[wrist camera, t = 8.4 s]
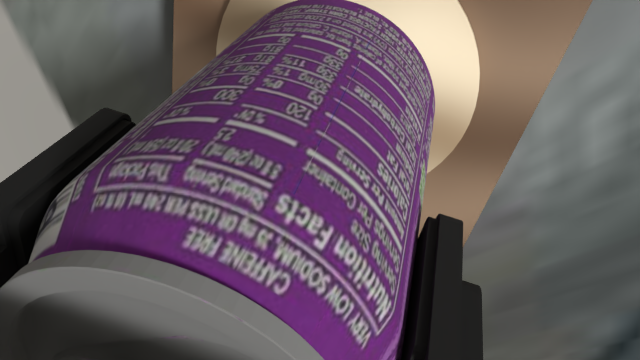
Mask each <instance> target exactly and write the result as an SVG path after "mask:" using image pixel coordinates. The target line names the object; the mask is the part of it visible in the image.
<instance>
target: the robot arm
mask: <svg viewBox="0 0 640 360" xmlns="http://www.w3.org/2000/svg"><path fill="white" fill-rule="evenodd" d="M135 126H136V124H135V123H133V122H131V118H130V116H129V115H127V114H125V113H121V112H118V111H115V110H112V109H109V108H103V109H101V110H100V111H98V112H97V113H96V114H94V115H93V116H91V117H90V118H89V119H87V120H86V121H85V122H83V123H82V124H80V125H79V126H78V127H76V128H75V129H74V130H72V131H71V132H69V133H68V134H67V135H65V136H64V137H63V138H61V139H60V140H59V141H57V142H56V143H54V144H53V145H52V146H50V147H49V148H48V149H46V150H45V151H43V152H42V153H41V154H39V155H38V156H37V157H35V158H34V159H33V160H31V161H30V162H28V163H27V164H26V165H24V166H23V167H22V168H20V169H19V170H17V171H16V172H15V173H13V174H12V175H11V176H9V177H8V178H6V179H5V180H4V181H2V182H1V183H0V288H1V287H2V286H3V285H4V284H5V283H6V282H7V281H8V280H9V279H10V278H11V277H13V276H14V275H15V274H16V273H17V272H18V271H19V270H20V269H21V268H23V267H24V266H26V265H27V264H28V263H29V260H30V257H31V253H32V250H33V247H34V244H35V241H36V238H37V235H38V232H39V228H40V225H41V223H42V220H43V218H44V215H45V214H46V212H47V210H48V208H49V206H50V205H51V203H52V202H53V200H54V199H55V198H56V197H57V195H58V194H59V193H60V192H61V191H62V190H63V189H64V188H65V187H66V186H67V185H68V184H69V183H70V182H71V181H72V180H73V179H74V178H75V177H76V176H78V175H79V174H80V173H81V172H82V171H83V170H85V169H86V168H87V167H88V166H89V165H90V164H92V163H93V162H94V161H95V160H96V159H97V158H98V157H100V156H101V155H102V154H103V153H104V152H105V151H107V150H108V149H109V148H110V147H111V146H112V145H114V144H115V143H116V142H117V141H118V140H119V139H121V138H122V137H123V136H124V135H125V134H126V133H128V132H129V131H130V130H131V129H132V128H133V127H135ZM462 258H463V221H462V220H459V219H456V218H453V217H450V216H446V215H443V214H440V213H439V214H438V215H437V217H436V219H435V218H432V217H428V218H427V219H426V221H425V223H424V226H423V228H422V230H421V233H420V235H419V237H418V241H417V248H416V256H415V263H414V270H413V278H412V285H411V293H410V300H409V307H408V315H407V322H406V330H405V337H404V344H403V352H402V357H401V360H483V335H482V293H481V288H480V286H478V285H475V284H472V283H469V282H466V281H463V280H462Z"/></svg>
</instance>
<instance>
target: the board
mask: <svg viewBox="0 0 640 360" xmlns="http://www.w3.org/2000/svg"><path fill="white" fill-rule="evenodd" d="M293 1H297V0H174V22H173V70H172V94H173V93H174V92H175V91H176V90H178V89H179V88H180V87H181V86H182V85H183V84H185V83H186V82H187V81H188V80H189V79H190V78H192V77H193V76H194V75H195V74H196V73H197V72H199V71H200V70H201V69H202V68H203V67H204V66H206V65H207V64H208V63H209V62H210V61H211V60H213V59H214V58H215V57H216V56H217V55H218V54H220V53H221V52H222V51H223V50H224V49H225V48H226V47H228V46H229V45H230V44H231V43H232V42H233V41H235V40H236V39H237V38H238V37H239V36H240V35H242V34H243V33H244V32H245V31H246V30H247V29H249V28H250V27H251V26H252V25H253V24H254V23H256V22H257V21H258V20H259V19H260V18H262V17H263V16H264V15H266V14H267V13H269V12H270V11H272V10H274V9H276V8H277V7H279V6H282V5H284V4H287V3H290V2H293ZM347 1H351V2H354V3H358V4H360V5H363V6H366V7H368V8H370V9H372V10H374V11H376V12H378V13H380V14H381V15H383V16H384V17H386V18H387V19H389V20H390V21H392V22H393V23H394V24H395V25H396V26H398V27H399V28H400V29H401V30H402V31H403V32H404V33H405V34H406V35H407V36H408V37H409V38H410V40H411V41H412V42H413V43H414V45H415V46H416V47H417V49H418V51H419V52H420V54H421V55H422V57H423V59H424V61H425V63H426V65H427V68H428V70H429V73H430V76H431V79H432V83H433V87H434V94H435V115H434V123H433V130H432V137H431V145H430V152H429V160H428V167H427V174H426V182H425V189H424V197H423V204H422V211H421V219H420V226H419V234H418V237H419V235H420V233H421V230H422V228H423V226H424V223H425V221H426V219H427V218H428V217H432V218H435V219H436V217H437V215H438V214H439V213H440V214H443V215H446V216H450V217H453V218H456V219H459V220H462V221H463V246H464V244H465V242H466V241H467V239H468V237H469V235H470V233H471V231H472V229H473V227H474V225H475V223H476V221H477V220H478V218H479V216H480V214H481V212H482V210H483V208H484V206H485V204H486V202H487V201H488V199H489V197H490V195H491V193H492V191H493V189H494V187H495V185H496V183H497V181H498V180H499V178H500V176H501V174H502V172H503V170H504V168H505V166H506V164H507V162H508V161H509V159H510V157H511V155H512V153H513V151H514V149H515V147H516V145H517V143H518V141H519V140H520V138H521V136H522V134H523V132H524V130H525V128H526V126H527V124H528V122H529V120H530V119H531V117H532V115H533V113H534V111H535V109H536V107H537V105H538V103H539V101H540V100H541V98H542V96H543V94H544V92H545V90H546V88H547V86H548V84H549V82H550V80H551V79H552V77H553V75H554V73H555V71H556V69H557V67H558V65H559V63H560V61H561V60H562V58H563V56H564V54H565V52H566V50H567V48H568V46H569V44H570V42H571V40H572V39H573V37H574V35H575V33H576V31H577V29H578V27H579V25H580V23H581V21H582V20H583V18H584V16H585V14H586V12H587V10H588V8H589V6H590V4H591V2H592V0H347Z"/></svg>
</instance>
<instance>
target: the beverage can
mask: <svg viewBox="0 0 640 360" xmlns="http://www.w3.org/2000/svg"><path fill="white" fill-rule="evenodd" d="M434 115H435V94H434V87H433V83H432V79H431V76H430V73H429V70H428V68H427V65H426V63H425V61H424V59H423V57H422V55H421V54H420V52H419V51H418V49H417V47H416V46H415V45H414V43H413V42H412V41H411V40H410V38H409V37H408V36H407V35H406V34H405V33H404V32H403V31H402V30H401V29H400V28H399V27H398V26H396V25H395V24H394V23H393V22H392V21H390V20H389V19H387V18H386V17H384V16H383V15H381V14H380V13H378V12H376V11H374V10H372V9H370V8H368V7H366V6H363V5H360V4H358V3H354V2H351V1H347V0H297V1H293V2H290V3H287V4H284V5H282V6H279V7H277V8H276V9H274V10H272V11H270V12H269V13H267V14H266V15H264V16H263V17H262V18H260V19H259V20H258V21H257V22H256V23H254V24H253V25H252V26H251V27H250V28H249V29H247V30H246V31H245V32H244V33H243V34H242V35H240V36H239V37H238V38H237V39H236V40H235V41H233V42H232V43H231V44H230V45H229V46H228V47H226V48H225V49H224V50H223V51H222V52H221V53H220V54H218V55H217V56H216V57H215V58H214V59H213V60H211V61H210V62H209V63H208V64H207V65H206V66H204V67H203V68H202V69H201V70H200V71H199V72H197V73H196V74H195V75H194V76H193V77H192V78H190V79H189V80H188V81H187V82H186V83H185V84H183V85H182V86H181V87H180V88H179V89H178V90H176V91H175V92H174V93H173V94H172V95H171V96H169V97H168V98H167V99H166V100H165V101H164V102H162V103H161V104H160V105H159V106H158V107H157V108H156V109H154V110H153V111H152V112H151V113H150V114H149V115H147V116H146V117H145V118H144V119H143V120H142V121H140V122H139V123H138V124H137V125H136V126H135V127H133V128H132V129H131V130H130V131H129V132H128V133H126V134H125V135H124V136H123V137H122V138H121V139H119V140H118V141H117V142H116V143H115V144H114V145H112V146H111V147H110V148H109V149H108V150H107V151H105V152H104V153H103V154H102V155H101V156H100V157H98V158H97V159H96V160H95V161H94V162H93V163H92V164H90V165H89V166H88V167H87V168H86V169H85V170H83V171H82V172H81V173H80V174H79V175H78V176H76V177H75V178H74V179H73V180H72V181H71V182H70V183H69V184H68V185H67V186H66V187H65V188H64V189H63V190H62V191H61V192H60V193H59V194H58V195H57V197H56V198H55V199H54V200H53V202H52V203H51V205H50V206H49V208H48V210H47V212H46V214H45V215H44V218H43V220H42V223H41V225H40V228H39V232H38V235H37V238H36V241H35V244H34V247H33V250H32V253H31V257H30V260H29V263H28V264H27V265H26V266H24V267H23V268H21V269H20V270H19V271H18V272H17V273H16V274H15V275H14V276H13V277H11V278H10V279H9V280H8V281H7V282H6V283H5V284H4V285H3V286H2V287H1V288H0V360H401V357H402V352H403V344H404V337H405V330H406V322H407V315H408V307H409V300H410V293H411V285H412V278H413V270H414V263H415V256H416V248H417V241H418V234H419V226H420V219H421V211H422V204H423V197H424V189H425V182H426V174H427V167H428V160H429V152H430V145H431V137H432V130H433V123H434Z"/></svg>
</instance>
